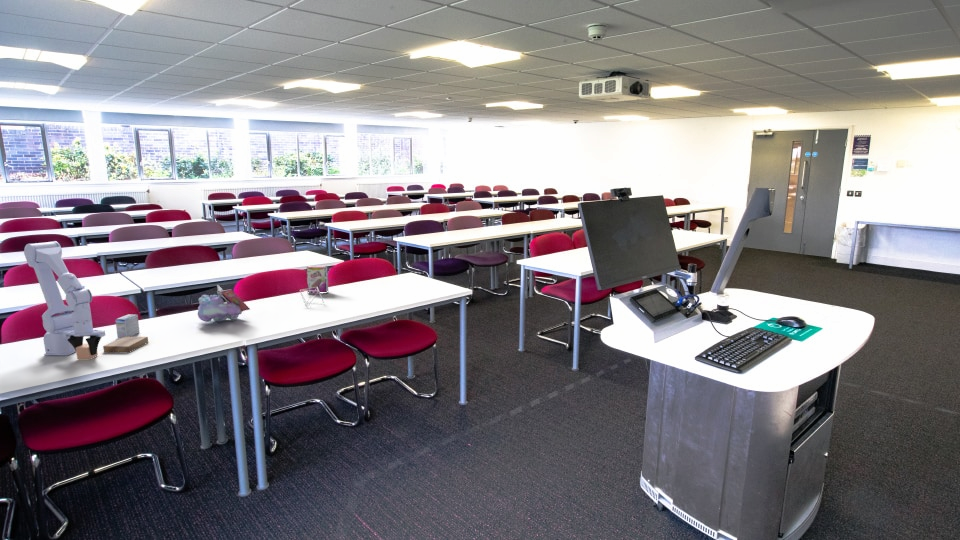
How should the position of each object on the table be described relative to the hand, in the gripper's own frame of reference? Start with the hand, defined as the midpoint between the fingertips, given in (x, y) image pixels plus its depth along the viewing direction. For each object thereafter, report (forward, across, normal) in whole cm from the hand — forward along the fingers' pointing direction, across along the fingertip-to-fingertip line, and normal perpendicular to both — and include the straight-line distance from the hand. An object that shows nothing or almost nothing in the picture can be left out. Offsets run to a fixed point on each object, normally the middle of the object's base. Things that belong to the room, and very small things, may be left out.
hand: (87, 354), depth 196 cm
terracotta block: (+2, 0, 0) cm, 2 cm away
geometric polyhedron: (+2, +62, +80) cm, 101 cm away
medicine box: (+2, -2, +27) cm, 27 cm away
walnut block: (+2, +7, +12) cm, 14 cm away
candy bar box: (+2, +57, +107) cm, 121 cm away
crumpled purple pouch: (+2, +30, +47) cm, 56 cm away
